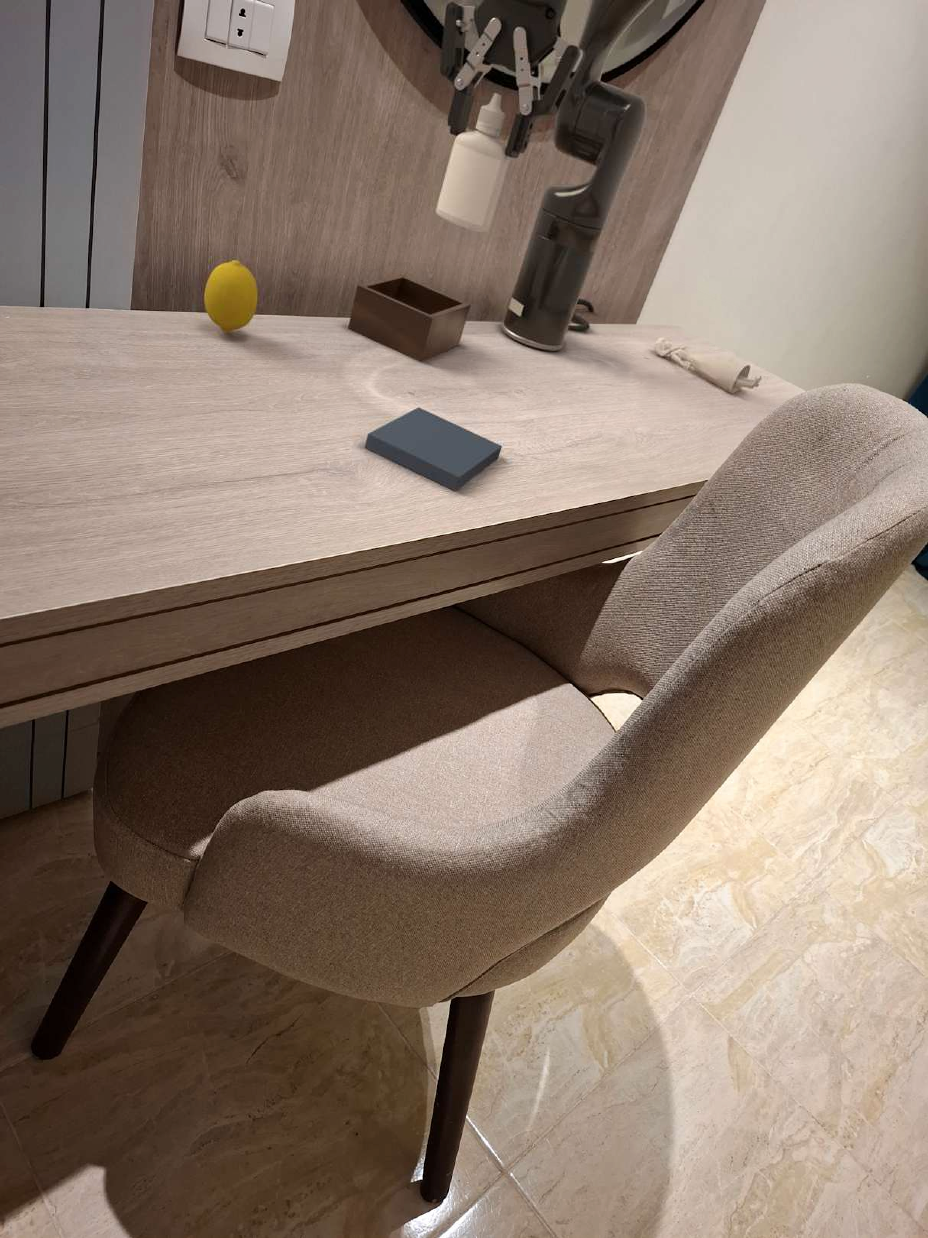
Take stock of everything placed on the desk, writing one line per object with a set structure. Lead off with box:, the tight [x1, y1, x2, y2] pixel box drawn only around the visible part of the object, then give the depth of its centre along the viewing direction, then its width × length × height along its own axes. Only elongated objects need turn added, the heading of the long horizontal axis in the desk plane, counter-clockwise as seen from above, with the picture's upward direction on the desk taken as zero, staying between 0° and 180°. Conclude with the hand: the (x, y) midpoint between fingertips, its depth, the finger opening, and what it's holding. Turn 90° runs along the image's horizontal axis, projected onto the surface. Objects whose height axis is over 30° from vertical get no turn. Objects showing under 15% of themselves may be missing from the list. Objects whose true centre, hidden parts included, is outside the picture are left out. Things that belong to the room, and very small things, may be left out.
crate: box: [347, 274, 471, 362], centre depth 115 cm, size 12×11×6 cm
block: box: [364, 406, 503, 492], centre depth 90 cm, size 11×10×2 cm
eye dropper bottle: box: [435, 92, 511, 233], centre depth 89 cm, size 4×6×12 cm
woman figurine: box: [653, 337, 762, 394], centre depth 143 cm, size 12×4×18 cm
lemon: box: [203, 259, 259, 334], centre depth 98 cm, size 6×6×8 cm
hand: (483, 144), depth 88 cm, fingers closed on eye dropper bottle, 5 cm apart
